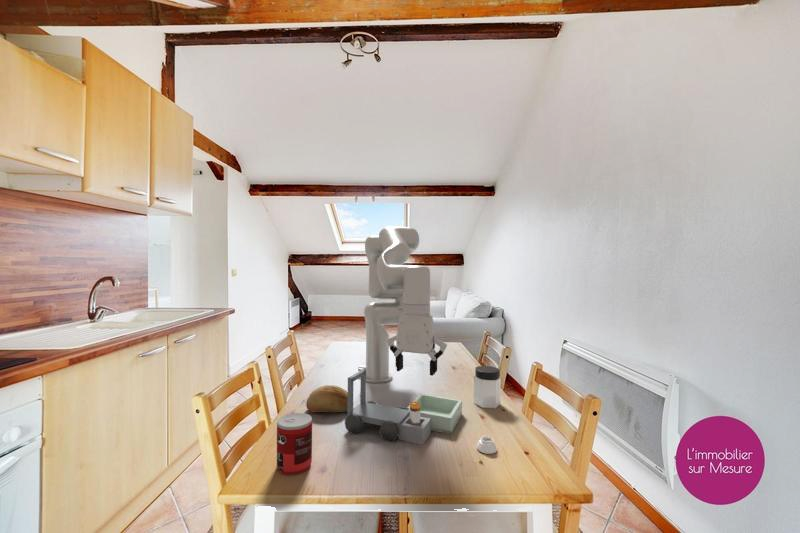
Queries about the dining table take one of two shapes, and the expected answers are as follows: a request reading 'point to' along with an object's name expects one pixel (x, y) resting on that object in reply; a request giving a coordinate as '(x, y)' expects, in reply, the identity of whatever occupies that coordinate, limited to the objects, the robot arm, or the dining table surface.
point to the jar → (487, 386)
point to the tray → (440, 412)
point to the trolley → (383, 417)
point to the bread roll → (328, 399)
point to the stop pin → (415, 413)
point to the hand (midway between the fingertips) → (416, 372)
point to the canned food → (294, 443)
